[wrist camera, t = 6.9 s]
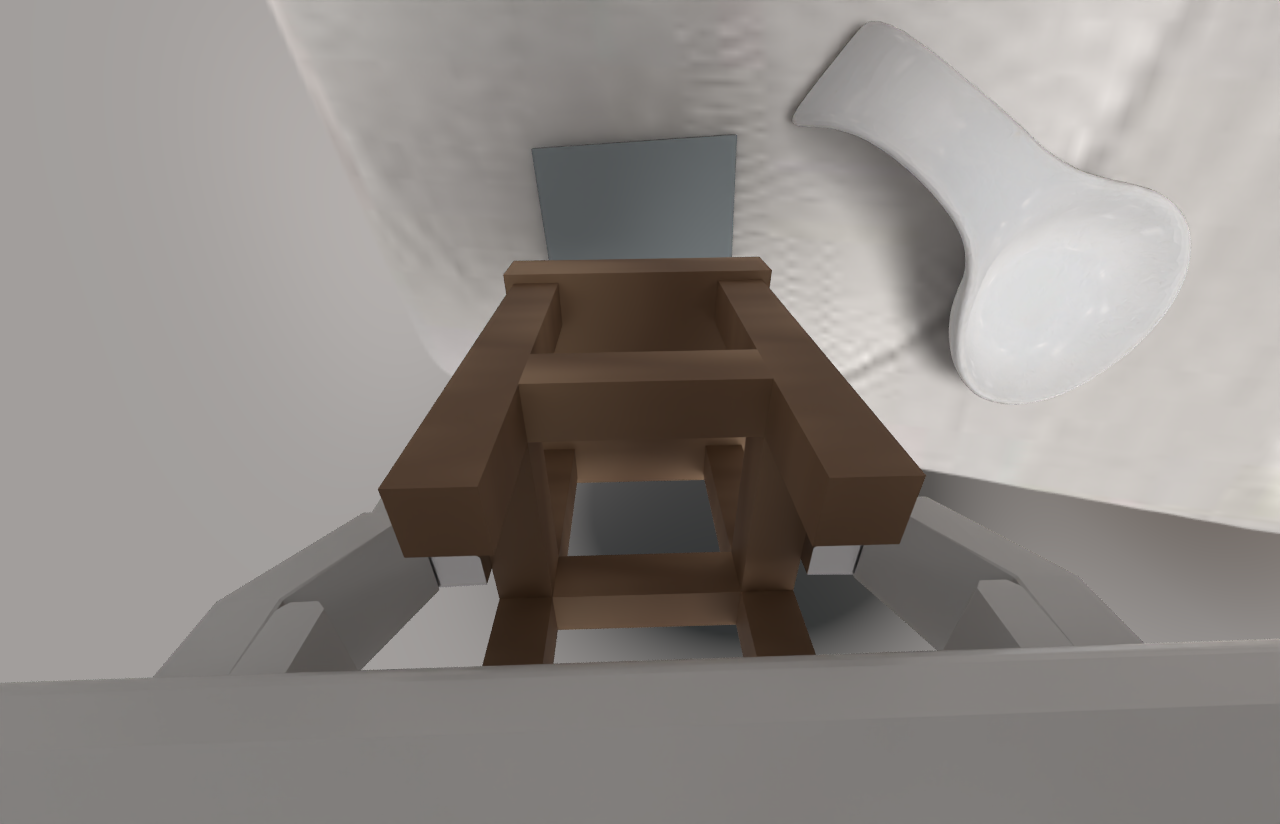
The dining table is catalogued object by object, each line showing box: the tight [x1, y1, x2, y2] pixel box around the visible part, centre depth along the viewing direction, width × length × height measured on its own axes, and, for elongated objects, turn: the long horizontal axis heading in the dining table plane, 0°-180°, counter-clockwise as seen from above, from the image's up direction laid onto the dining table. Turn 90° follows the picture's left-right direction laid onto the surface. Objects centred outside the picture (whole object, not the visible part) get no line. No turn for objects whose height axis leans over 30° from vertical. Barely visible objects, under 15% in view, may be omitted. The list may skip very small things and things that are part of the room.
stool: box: [378, 257, 926, 666], centre depth 10 cm, size 6×6×8 cm
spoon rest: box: [792, 21, 1191, 405], centre depth 24 cm, size 24×12×7 cm, turn 54°
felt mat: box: [532, 134, 737, 260], centre depth 26 cm, size 10×10×1 cm
